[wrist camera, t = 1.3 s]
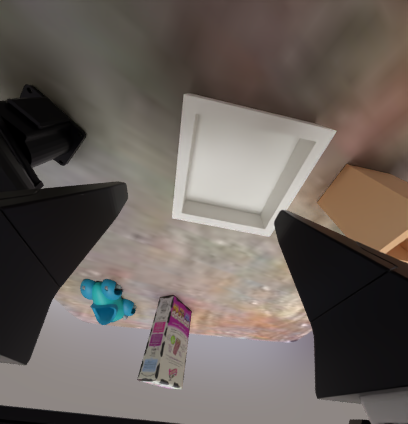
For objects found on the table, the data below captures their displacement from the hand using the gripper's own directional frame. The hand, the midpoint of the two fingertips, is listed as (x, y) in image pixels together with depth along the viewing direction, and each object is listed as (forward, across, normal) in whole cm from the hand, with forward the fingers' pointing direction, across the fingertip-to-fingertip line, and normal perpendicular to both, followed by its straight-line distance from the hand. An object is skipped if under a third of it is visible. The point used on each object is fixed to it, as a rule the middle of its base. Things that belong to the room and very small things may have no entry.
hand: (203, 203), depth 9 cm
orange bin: (+13, +20, -2) cm, 24 cm away
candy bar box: (+13, -2, -46) cm, 48 cm away
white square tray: (+13, +4, -3) cm, 14 cm away
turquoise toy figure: (+14, -21, -46) cm, 53 cm away
